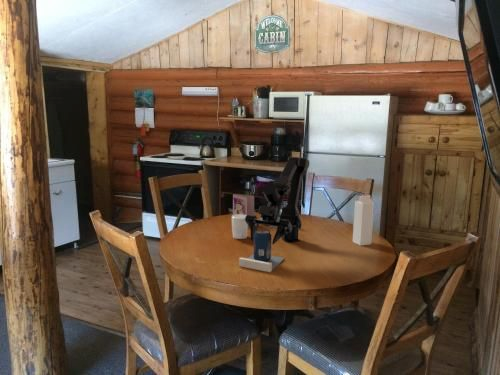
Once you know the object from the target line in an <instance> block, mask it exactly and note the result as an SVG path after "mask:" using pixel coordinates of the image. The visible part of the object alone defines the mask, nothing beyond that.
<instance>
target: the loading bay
mask: <svg viewBox="0 0 500 375" xmlns="http://www.w3.org/2000/svg"><path fill="white" fill-rule="evenodd" d="M253 256H254V253H253V254H251V255H250V256H248V257H247V258H246V257H242V256H241V257H239V258H238V266H239V267H242V268H247V269H252V270H256V271H257V270H258V271H261V272H267V273H271V272H272V271H274V270H275V269H276V268H277V267H279V265H280V264H281V263H283V261H284V260H285V257H283V256H282V257H281V256H275V255H271V259H270V260H269V261H268V262H263V261H258V260H255V259H254V257H253Z"/></svg>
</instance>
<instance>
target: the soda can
mask: <svg viewBox="0 0 500 375" xmlns="http://www.w3.org/2000/svg"><path fill="white" fill-rule="evenodd" d="M253 254H254V256H253V257H254V259H255V260H258V261H263V262H268V261H269V260H270V259H271V256H272V234H271V231H270V230H269V229H267V228H266V229H265V228H259V229H257V230H256V231H255V234H254V239H253Z"/></svg>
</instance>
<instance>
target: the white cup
mask: <svg viewBox="0 0 500 375" xmlns="http://www.w3.org/2000/svg"><path fill="white" fill-rule="evenodd" d="M246 216H247V215H243V214H236V215H233V214H232V215H231V230H232V238H233V239H236V240H244V239H247V237H248V230H249V226H248V224H247V223H246V221H245V217H246Z"/></svg>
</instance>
